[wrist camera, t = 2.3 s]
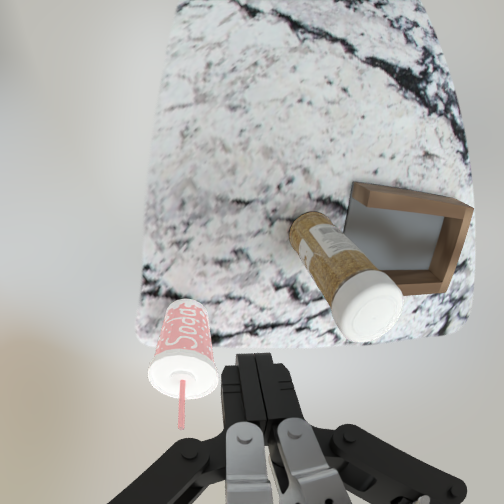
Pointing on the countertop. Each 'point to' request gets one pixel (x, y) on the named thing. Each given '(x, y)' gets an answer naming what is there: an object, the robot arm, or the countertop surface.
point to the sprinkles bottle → (346, 279)
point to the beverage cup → (184, 355)
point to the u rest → (408, 234)
